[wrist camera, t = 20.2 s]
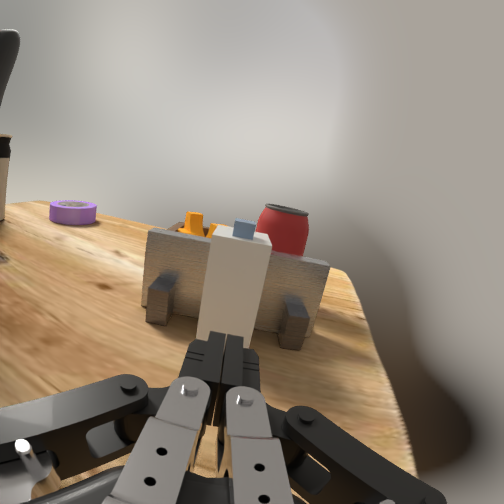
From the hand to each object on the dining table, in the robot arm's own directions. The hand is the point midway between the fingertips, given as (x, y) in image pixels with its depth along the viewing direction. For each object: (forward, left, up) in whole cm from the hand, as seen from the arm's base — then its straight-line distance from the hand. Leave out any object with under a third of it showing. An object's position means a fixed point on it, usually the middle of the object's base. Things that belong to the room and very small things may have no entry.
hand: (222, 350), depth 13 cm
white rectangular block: (0, +13, -7) cm, 15 cm away
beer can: (+5, +26, -7) cm, 27 cm away
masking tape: (-39, +48, -7) cm, 62 cm away
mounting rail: (0, +16, -7) cm, 17 cm away
